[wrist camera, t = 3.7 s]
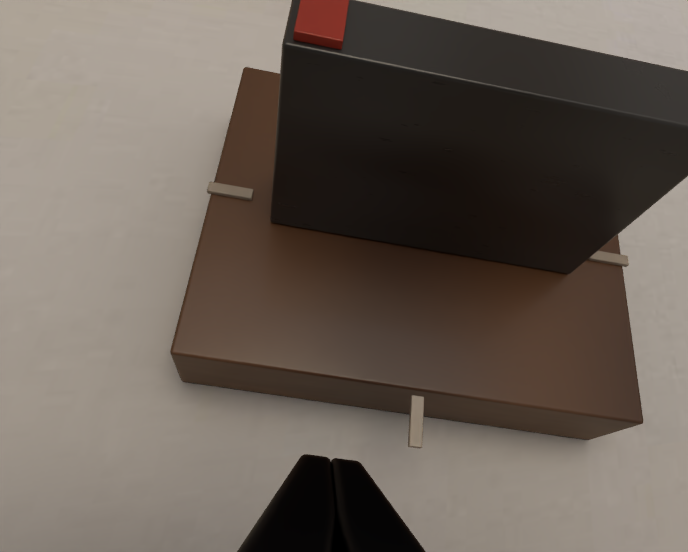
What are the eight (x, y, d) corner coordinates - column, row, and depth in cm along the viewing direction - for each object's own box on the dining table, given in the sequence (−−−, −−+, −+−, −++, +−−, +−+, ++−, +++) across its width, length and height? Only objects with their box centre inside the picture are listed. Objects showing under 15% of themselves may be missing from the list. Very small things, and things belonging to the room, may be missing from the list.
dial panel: (565, 153, 25) (606, 103, 22) (596, 490, 18) (659, 480, 16) (249, 92, 23) (249, 30, 21) (165, 431, 17) (149, 409, 14)
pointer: (566, 229, 19) (729, 68, 13) (570, 275, 18) (746, 129, 12) (278, 177, 18) (295, -25, 12) (269, 223, 17) (282, 33, 11)
